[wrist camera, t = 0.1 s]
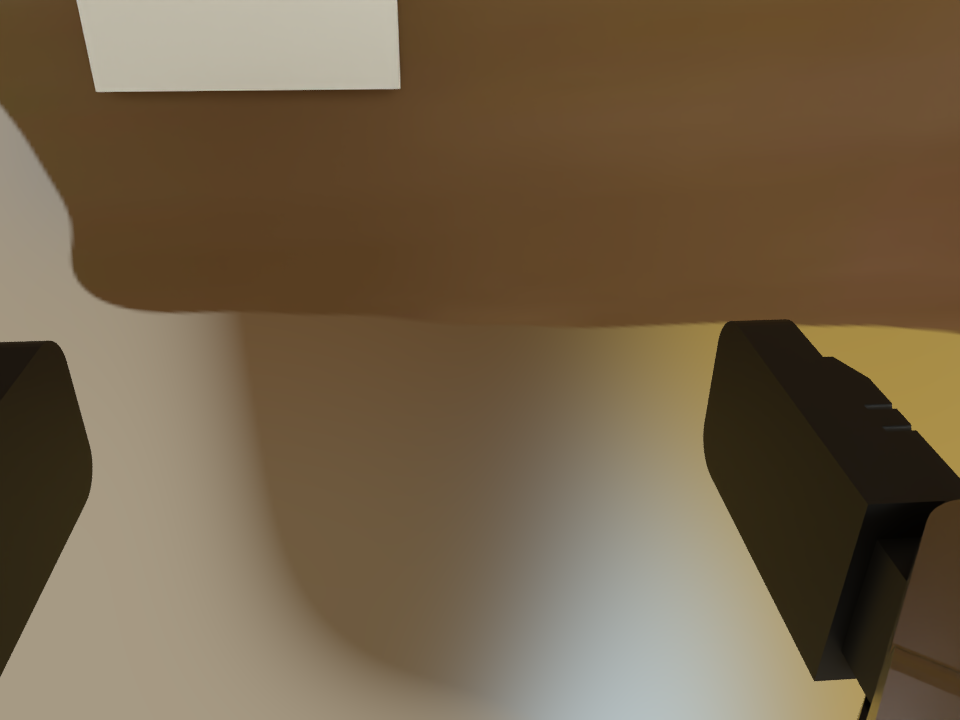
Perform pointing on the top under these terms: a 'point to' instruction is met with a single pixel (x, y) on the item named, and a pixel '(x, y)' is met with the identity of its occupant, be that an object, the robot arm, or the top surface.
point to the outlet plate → (241, 44)
